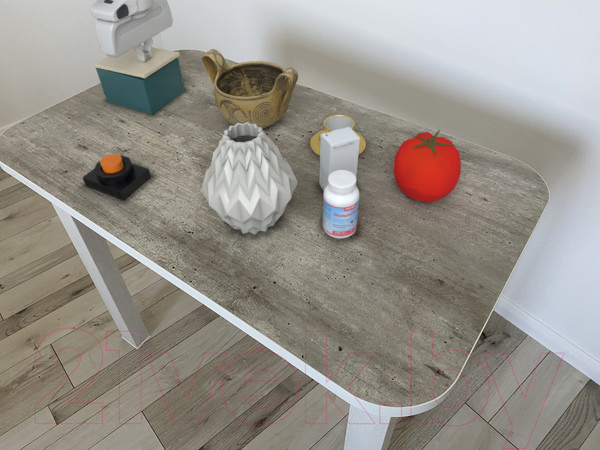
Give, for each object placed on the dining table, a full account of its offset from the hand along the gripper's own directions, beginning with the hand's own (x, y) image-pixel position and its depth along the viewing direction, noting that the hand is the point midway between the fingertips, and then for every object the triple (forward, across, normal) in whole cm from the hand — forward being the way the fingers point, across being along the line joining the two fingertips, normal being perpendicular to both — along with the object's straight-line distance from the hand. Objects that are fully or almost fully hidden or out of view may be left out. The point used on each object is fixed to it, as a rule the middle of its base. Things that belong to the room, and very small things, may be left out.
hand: (145, 59), depth 113 cm
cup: (+10, -2, +49) cm, 50 cm away
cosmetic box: (+10, +11, +55) cm, 57 cm away
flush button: (+7, +29, +15) cm, 33 cm away
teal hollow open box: (+10, 0, -3) cm, 11 cm away
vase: (+10, +26, +45) cm, 53 cm away
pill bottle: (+10, +21, +60) cm, 64 cm away
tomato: (+10, +5, +70) cm, 71 cm away
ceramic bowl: (+10, -2, +28) cm, 30 cm away
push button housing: (+10, +29, +15) cm, 34 cm away
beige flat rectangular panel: (+1, 0, -3) cm, 3 cm away
